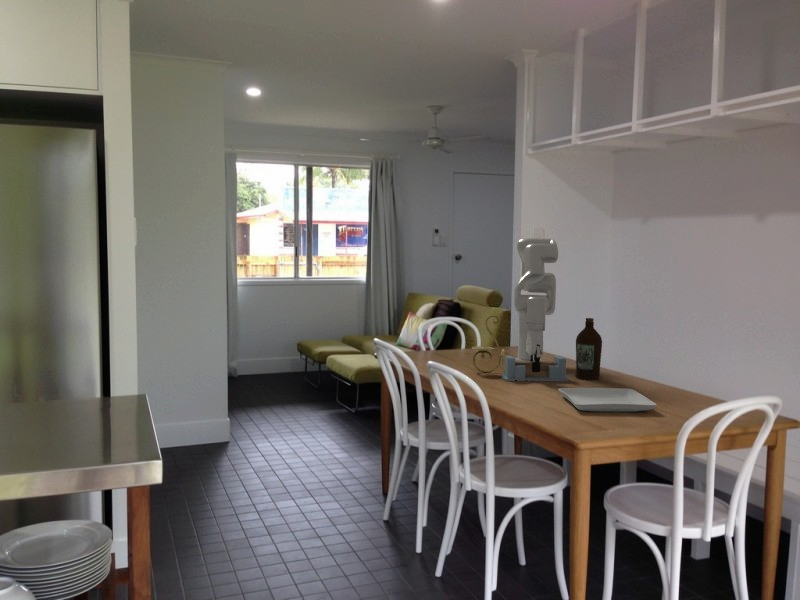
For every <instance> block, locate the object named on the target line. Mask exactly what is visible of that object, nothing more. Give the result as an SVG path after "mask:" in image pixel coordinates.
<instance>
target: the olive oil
mask: <svg viewBox="0 0 800 600" xmlns="http://www.w3.org/2000/svg"><path fill="white" fill-rule="evenodd" d="M594 319H595V318H593V317H586V318H585V323H584V324H585V326H584V328H583V329H582V330H581V331H580V332H579V333H578V334H577V336H576V339H575V363H576V364H575V373H576V374H575V377H576V378H577V379H580V380H584V379H585V380H586V381H595V380H596V379H597V380H599V379H600V373H601V372H600V371H601V359H602V348H603V340H602V336H601V335H600V333H599V332H598V331H597V330H596V329H595V328H594V324H595V322H594Z"/></svg>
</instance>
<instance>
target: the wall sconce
mask: <svg viewBox="0 0 800 600" xmlns="http://www.w3.org/2000/svg"><path fill="white" fill-rule="evenodd" d="M490 318H495V319H496V321H495V320H493V321H492V323H493V324H494V325H497V324H498V323H500V318H499V317H498V316H497V315H494V314H490V315H488V316H487V317H486V319H485V320H484V326H485V329H486V331H487V332H488V334H489V335H490V337H491V338H492V339H493V341H494V342H495V345H496V348H497V351H498V355H497V356H496V357H497V359H498V362H497V364H496V365H495V366H494V368H491V369H488V370H486V369H485V370H484V369H481V368H479V367H478V366H477V365H476V357H477V355H478V354H481V355H480V359H481V360H482V359H484V362H486V363H489V362H491V361H492V360H493V355H492V353H491V352H489V351H493V350H494V349H495V347H491V346H482V345H481V346H472V347H471V349H472V350H473V351H476V352H475V353H474V354H473V356H472V365H473V367H474V368H475V369H476V371H478V372H480V373H484V372H488V373H492V372H494V371H496V370H497V369H498V368H499V366H500V364H501V365H503V366H504V356H506V351H505V348H502V349H501V348H500V344H499V342H498V340H497V338H496V336H494V334H493V332H492V331H491V329H490V328H489V327H488V321H489V319H490ZM484 354H487V355H489V358H488V359H485V357H486V356H485V355H484Z"/></svg>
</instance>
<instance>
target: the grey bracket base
mask: <svg viewBox="0 0 800 600" xmlns="http://www.w3.org/2000/svg"><path fill="white" fill-rule="evenodd" d="M515 358H516V357H514V356H512V355H505V356H504V365H503V373H501V374H500V377H501V378H502V380H504V379H505V380H506V381H505V380H504V381H505V382H525V381H524V380H528V381H527V382H532V381H531V380H535V381H534V382H570V378H568V377H567V376H566V375H567V373H566V371H567V358H566V357H564V356H562V355H554V356H553V362H555V366H549V371H548V377H525V366H515ZM515 380H517V381H515Z"/></svg>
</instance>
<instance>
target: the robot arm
mask: <svg viewBox="0 0 800 600" xmlns="http://www.w3.org/2000/svg"><path fill="white" fill-rule="evenodd" d="M516 250H517V253H518V256H519V259H520V261H521V276H520V277H521V278H520V279H519V280H518V281H517V283H516V285H515V287H514V290H513V291H514V296H513V297H514V301H513V303H514V304H513V305H514V309H515V311H517V312H518V313H517V314H518V345H517V346H518V347H517V349H518V351H517V356H516V357H514V358H515V361H533V362H532V372H540V361H543V360H542V358H541V356H542V355H543V352H544V332H545V331H546V316H552V315H554V314H555V310H556V299H557V297H556V295H557V279H556V275H555V274H553V273H552V272H545V264H554V263H556V262H557V261H558V259H559V247H558V244H557V242H556V240H555V239H553V238H522V239H519V240H518V241H517V244H516ZM522 291H524V292H525V293H534V294H522ZM535 293H536V294H535ZM541 293H542V294H541Z"/></svg>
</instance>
